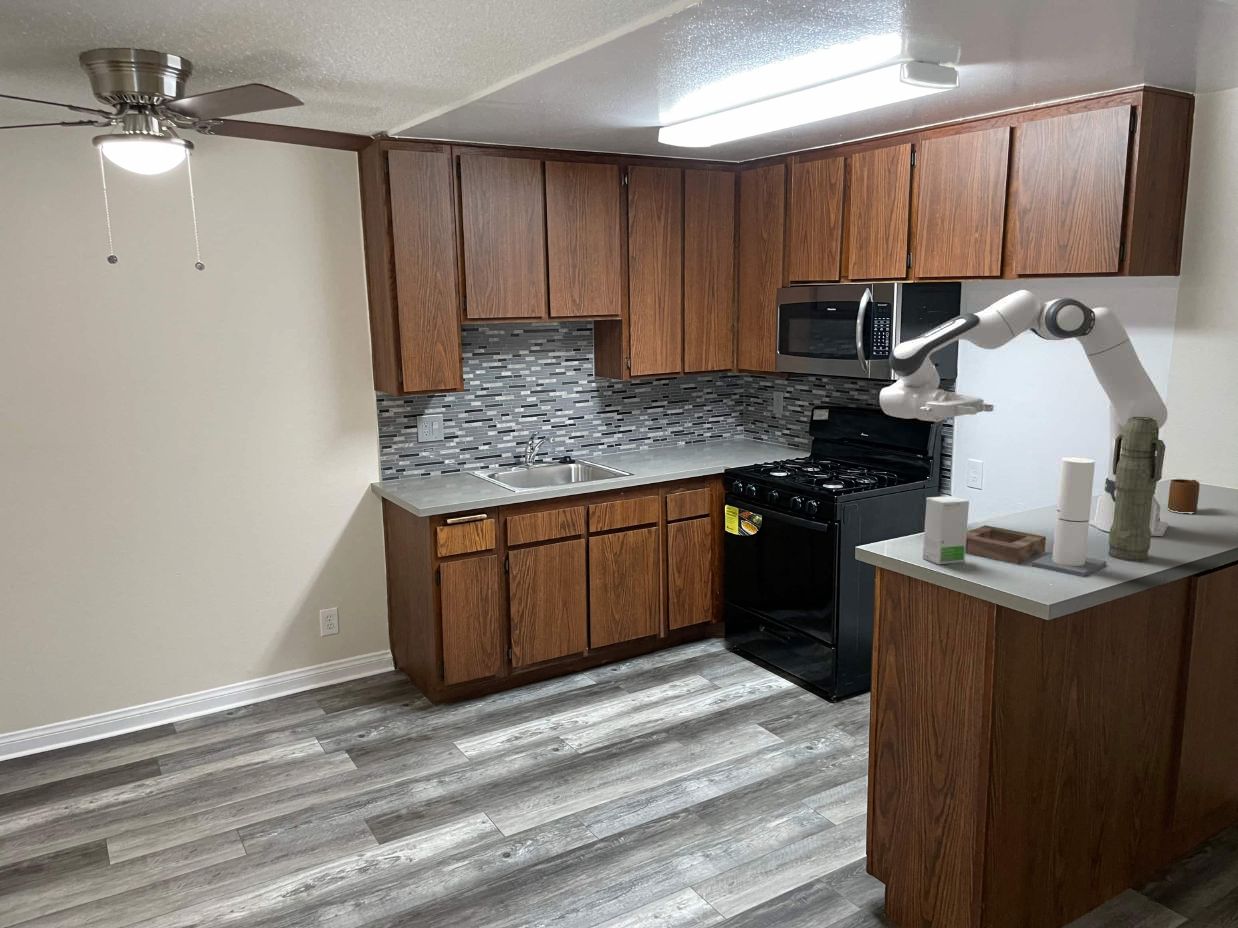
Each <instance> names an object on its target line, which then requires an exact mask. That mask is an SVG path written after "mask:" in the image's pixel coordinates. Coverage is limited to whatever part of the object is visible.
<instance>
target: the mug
mask: <svg viewBox="0 0 1238 928" xmlns="http://www.w3.org/2000/svg"><path fill="white" fill-rule="evenodd" d="M1168 492H1169V493H1168V501H1167V509H1168V508H1169V509H1170V510H1173V511H1178V512H1196V513H1197V509H1198V503H1199V496H1200V481H1197V480H1195V479H1186V478H1185V479H1182V478H1174V479H1171V480H1170V484H1169V491H1168Z"/></svg>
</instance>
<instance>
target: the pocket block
mask: <svg viewBox="0 0 1238 928" xmlns="http://www.w3.org/2000/svg"><path fill="white" fill-rule="evenodd" d="M1046 542H1047V536H1045V535H1044V536H1043V535H1039V534H1036V533H1035V534H1034V533H1030V532H1028V533H1027V532H1023V531H1018V530H1013V529H1006V528H1002V527H996V526H991V525H990V526H989V525H983V526H979V527H977V528H974V529H972V530H967V535H966V549H965V554H968V555H972V554H973V555H974V556H978V557H981V558H982V557H983V558H986V559H991V558H992V560H996V559H997V560H996V561H1001V560H1002V562H1005V561H1006V563H1010V562H1011V564H1015V563H1016V564H1015V565H1018V564H1021V563H1023V562H1025V561H1027V560H1030V559H1033V558H1034V557H1036V556H1038V555H1042V554H1043V553H1045V552H1046ZM973 555H972V556H973Z"/></svg>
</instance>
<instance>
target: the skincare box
mask: <svg viewBox="0 0 1238 928" xmlns="http://www.w3.org/2000/svg"><path fill="white" fill-rule="evenodd" d="M969 507H970V500H968V499H964V498H960V497H956V496H953V495H952V496H931V497H926V504H925V518H924V519H925V520H924V534H923V548H922V559H923V560H926V561H929V562H931V563H934V564H937V565H945V564H946V565H947V564H949V565H950V564H957V563H958V562H959V563H965V560H966V553H965V549H966V535H967V532H968V521H969V518H968V517H969V509H970V508H969ZM959 563H958V564H959Z"/></svg>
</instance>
